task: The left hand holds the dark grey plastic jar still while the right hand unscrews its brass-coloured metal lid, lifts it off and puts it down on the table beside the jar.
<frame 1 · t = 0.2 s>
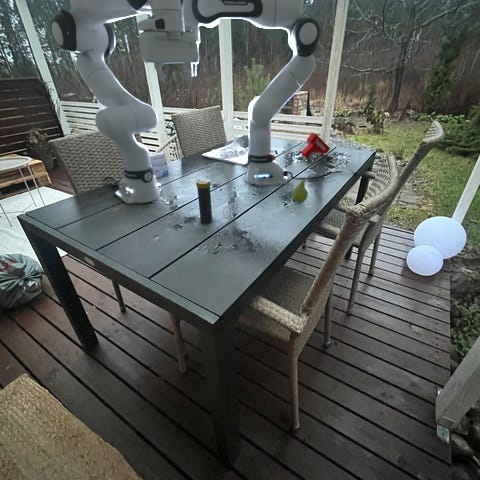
left hand: (175, 80, 86), 48 cm above the table, tool pointing down, fingers open, 8 cm apart
right hand: (192, 76, 120), 48 cm above the table, tool pointing down, fingers open, 8 cm apart
fruit: (299, 202, 122), on the table
lid: (203, 182, 99), point 16 cm above the table, screwed on, not yet turned
ink box: (159, 175, 152), on the table
jar: (206, 220, 107), on the table
relief map: (234, 156, 184), on the table
toy gun: (314, 156, 182), on the table
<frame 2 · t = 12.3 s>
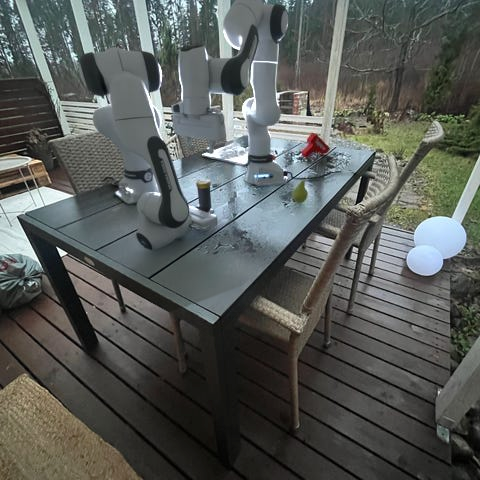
left hand: (207, 208, 105), 5 cm above the table, tool horizontal, fingers closed on jar, 4 cm apart
right hand: (200, 151, 93), 27 cm above the table, tool pointing down, fingers open, 7 cm apart
jar: (206, 220, 107), on the table, touching left hand
everything else where it was.
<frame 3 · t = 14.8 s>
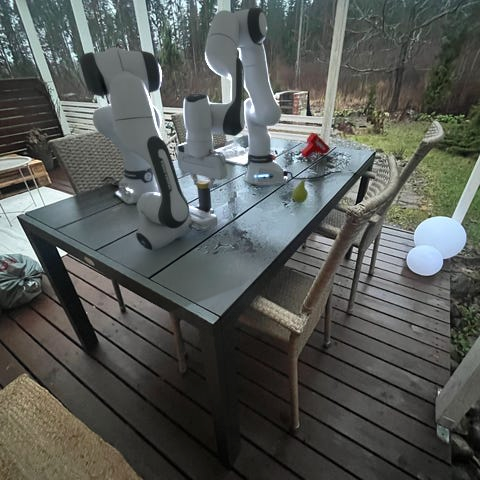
left hand: (207, 208, 105), 5 cm above the table, tool horizontal, fingers closed on jar, 4 cm apart
right hand: (203, 186, 100), 14 cm above the table, tool pointing down, fingers closed on lid, 5 cm apart
lid: (203, 182, 99), point 16 cm above the table, screwed on, not yet turned, touching right hand
jar: (206, 220, 107), on the table, touching left hand
everything else where it was.
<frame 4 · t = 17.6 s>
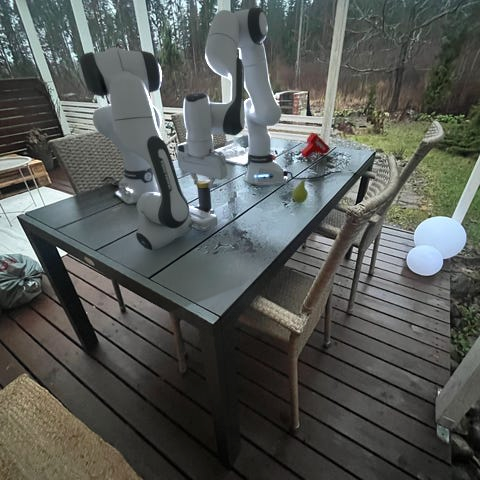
left hand: (207, 208, 105), 5 cm above the table, tool horizontal, fingers closed on jar, 4 cm apart
right hand: (203, 186, 100), 15 cm above the table, tool pointing down, fingers closed on lid, 5 cm apart
lid: (203, 181, 99), point 16 cm above the table, turned 52° so far, risen 0.1 cm, still on its thread, touching right hand
jar: (206, 220, 107), on the table, touching left hand
everything else where it was.
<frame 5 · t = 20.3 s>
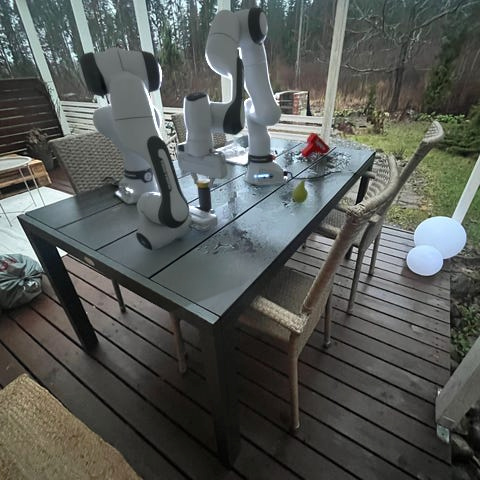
left hand: (207, 208, 105), 5 cm above the table, tool horizontal, fingers closed on jar, 4 cm apart
right hand: (203, 185, 100), 15 cm above the table, tool pointing down, fingers closed on lid, 5 cm apart
lid: (203, 181, 99), point 16 cm above the table, turned 103° so far, risen 0.3 cm, still on its thread, touching right hand
jar: (206, 220, 107), on the table, touching left hand
everything else where it was.
when the right hand's fingers open (2 cm above the table, at t = 26.6 s): lid drops 2 cm, point 1 cm above the table.
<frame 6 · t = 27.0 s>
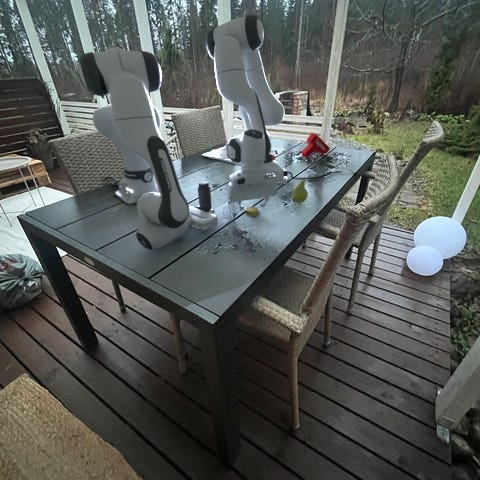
left hand: (207, 208, 105), 5 cm above the table, tool horizontal, fingers closed on jar, 4 cm apart
right hand: (252, 208, 112), 2 cm above the table, tool pointing down, fingers open, 8 cm apart
lid: (252, 209, 112), point 1 cm above the table, off its thread
jar: (206, 220, 107), on the table, touching left hand
everything else where it was.
when the left hand's fingers open (5 cm above the table, at t = 27.7 s): jar stays where it is, on the table.
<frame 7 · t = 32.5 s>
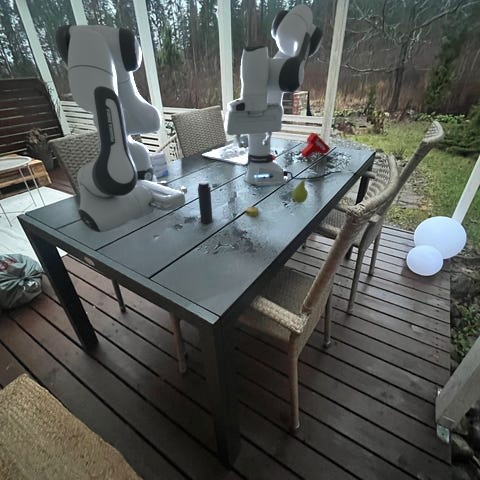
left hand: (175, 186, 89), 18 cm above the table, tool horizontal, fingers open, 8 cm apart
right hand: (253, 146, 98), 27 cm above the table, tool pointing down, fingers open, 8 cm apart
jar: (206, 220, 107), on the table
everything else where it was.
at the end: lid came off its thread; lid point 1.4 cm above the table; the left hand is holding nothing; the right hand is holding nothing; jar tilted 0°; jar moved 0.2 cm from its start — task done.
